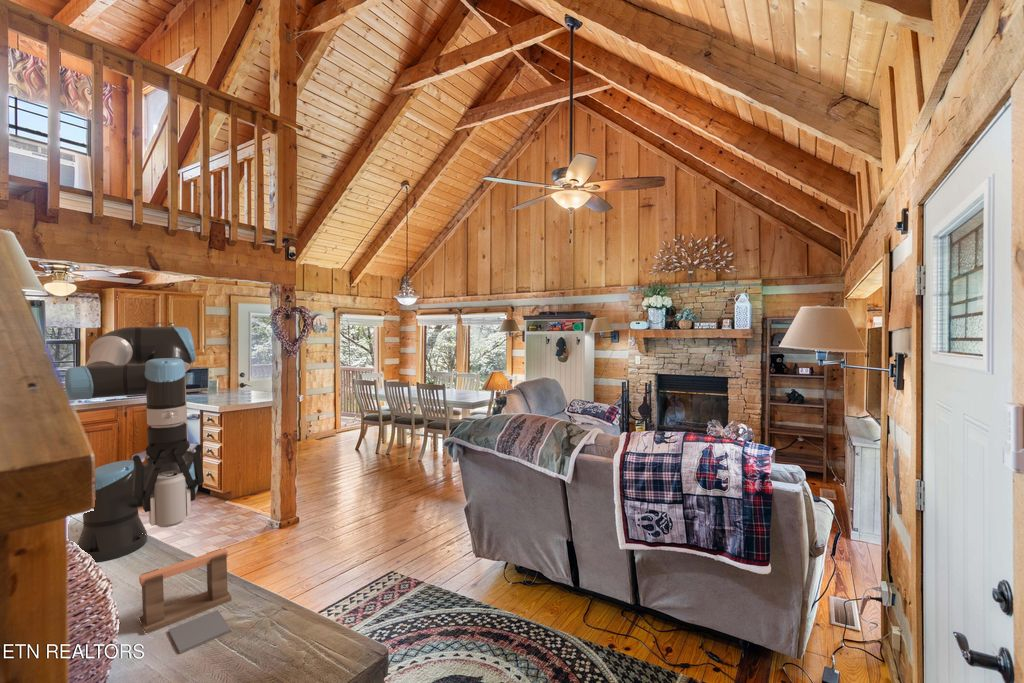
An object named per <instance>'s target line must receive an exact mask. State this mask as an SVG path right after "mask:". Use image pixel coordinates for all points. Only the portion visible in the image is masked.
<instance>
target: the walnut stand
mask: <svg viewBox="0 0 1024 683" xmlns="http://www.w3.org/2000/svg"><path fill="white" fill-rule="evenodd" d="M220 549H221V548H219V549H215V550H212V551H209V552H206V553H205V554H208V553H211V552H214V551H217V550H220ZM158 569H159V568H156V569H154V570H149V571H146V572H144V573H141V574H140V575H143V574H146V573H149V572H152V571H155V570H158ZM206 582H207V584H206V586H207V590H206V591H204V592H201V593H199V594H196V595H193V596H192V597H191V596H190V597H188V598H185V599H182V600H180V601H177V602H174V603H172V604H170V605H167V606H165V595H164V594H165V593H164V579H163V575H159V576H156V577H153V578H150V579H147V580H145V585H144V586H141V595H142V596H141V598H142V599H141V601H142V603H141V604H142V615H140V616H138V618H140V621H141V623H142V626H143V628H142V630H143V629H144V631H145V633H148V634H150V633H153V632H155V631H157V630H160V629H162V628H165V627H168V626H170V625H173V624H176V623H177V622H180V621H183V620H185V619H188V618H190V617H192V616H196V615H199V614H200V613H202V612H205V611H208V610H211V609H213V608H215V607H218V606H221V605H222V604H223V605H224V604H225V603H228V602H230V601H232V598H233V597H232V595H231V594H230V592H229V590H228V557H227V555H226V554H223V555H220V556H217V557H214V558H211V563H209V564H207V565H206ZM140 621H139V622H140ZM142 626H141V627H142ZM144 631H143V632H144ZM152 631H153V632H152ZM149 632H150V633H149ZM145 633H144V634H145Z"/></svg>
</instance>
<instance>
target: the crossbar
mask: <svg viewBox="0 0 1024 683" xmlns="http://www.w3.org/2000/svg"><path fill="white" fill-rule="evenodd" d="M219 549H220V550H218V549H216V550H217V551H215V550H213V551H214V552H212V551H210V552H211V553H209V552H207V553H208V554H206V553H205V554H202V555H199V556H196V557H192V558H190V559H189V558H188V559H187V560H184V561H181V562H178V563H174V564H171V565H169V566H165V567H162V568H157V569H158V570H156V569H154V570H155V571H153V570H151V571H152V572H150V571H148V572H149V573H147V572H145V573H146V574H143V573H142V574H143V575H141V574H140V575H138V576H139V578H138V579H139V584H140V586H141V587H142V586H144V585H145V580H147V579H150V578H153V577H156V576H159V575H163V580H164V579H167V578H170V577H173V576H176V575H180V574H183V573H185V572H188V571H192V570H195V569H197V568H200V567H203V566H207V564H209V563H211V558H214V557H217V556H220V555H223V554H226V555H227V558H229V557H228V556H229V554H228V552H229V550H227V549H226V548H225V547H224V548H219Z"/></svg>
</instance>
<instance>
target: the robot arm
mask: <svg viewBox="0 0 1024 683" xmlns="http://www.w3.org/2000/svg"><path fill="white" fill-rule="evenodd" d="M192 335H193V334H192V333H191V330H190V329H189V328H188V327H185V326H172V325H171V326H127V327H121V328H117V329H114V330H110V331H109V332H105V333H104V334H102V335H100V336H98V337H97V338H96V339H95V340H94V341H93V342H91V343H92V344H90V347H89V351H88V354H89V359H87V362H86V364H85V365H80V366H74V367H72V366H71V367H69V368H68V369H66V371H65V373H64V374H65V375H64V387H65V389H66V390H65V392H66V391H67V393H68V396H69V397H68V396H67V397H68V398H69V399H71V400H82V399H86V400H91V399H101V398H102V399H103V398H112V397H126V396H140V395H141V396H142V395H146V396H145V397H146V424H147V425H148V427H147V428H146V429H147V431H146V432H147V446H146V448H145V450H144V451H141V452H139V453H132V454H131V455H130V457H131V459H128V460H125V459H123V460H120V461H114V462H111V463H107V464H103V465H100V466H98V467H95V468H96V469H95V468H94V469H95V490H96V500H95V507H94V511H90V512H87V513H84V514H83V513H82V520H83V523H82V524H83V526H82V530H81V533H80V536H79V537H78V538H79V539H78V542H77V544H76V546H77V545H79V547H80V548H81V549H82V550H84V551H85V552H87V553H88V554H90V555H91V556H92V558H93V559H94V560H95V561H96V562H104V561H108V560H109V561H110V560H113V559H117V558H120V557H123V556H127V555H130V554H131V553H134V552H136V551H137V550H139V549H140V548H142V547H143V546H145V545H146V543H147V541H148V532H147V529H146V527H145V525H144V523H143V522H142V520H141V517H140V515H139V508H142V509H143V511H144V512H145V513H147V512H148V522H149V524H150V526H151V527H152V526H153V527H155V526H157V525H156V520H155V498H154V497H153V488H154V485H155V482H156V479H157V477H158V474H159V473H162V472H166V471H172V470H180V471H181V472H182V473H183V475H184V476H185V481H186V512H187V517H191V516H192V510H191V509H192V505H191V503H192V502H193V501H195V500H196V495H197V492H198V489H199V485H202V484H204V482H205V477H204V471H203V464H202V457H201V456H202V454H201V453H202V450H203V445H202V444H201V443H200V442H196V443H190V442H189V434H188V432H189V431H188V406H187V388H186V387H187V382H186V372H188V371H189V370H190V369H191V366H192V365H191V364H193V363H195V362H196V360H197V357H196V356H197V355H196V351H195V343H194V338H193V336H192ZM145 461H146V464H143V463H144V462H145ZM187 517H186V518H187ZM142 533H143V534H142ZM145 534H146V535H147V536H146V535H145ZM96 562H95V563H96Z"/></svg>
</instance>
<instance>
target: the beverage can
mask: <svg viewBox="0 0 1024 683" xmlns="http://www.w3.org/2000/svg"><path fill="white" fill-rule="evenodd" d="M153 497H154V498H155V520H156V525H155V526H157V527H158V528H171V527H175V526H178V525H180V524H181V523H183V522H184V520H186V519H187V512H186V481H185V476H184V475H183V473H182V472H181V471H180V470H172V471H166V472H162V473H159V474H158V477H157V479H156V482H155V485H154V488H153Z"/></svg>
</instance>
